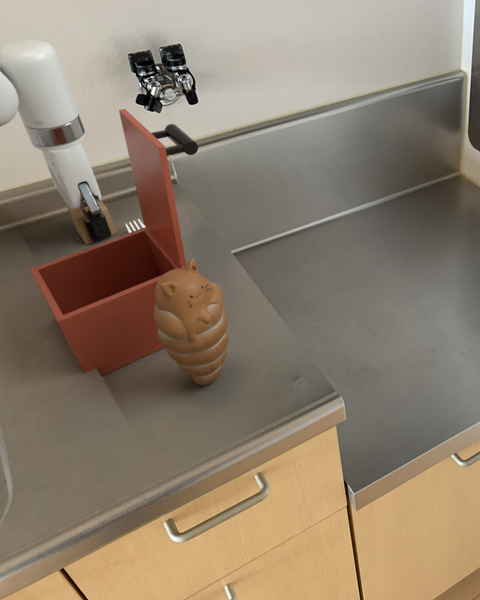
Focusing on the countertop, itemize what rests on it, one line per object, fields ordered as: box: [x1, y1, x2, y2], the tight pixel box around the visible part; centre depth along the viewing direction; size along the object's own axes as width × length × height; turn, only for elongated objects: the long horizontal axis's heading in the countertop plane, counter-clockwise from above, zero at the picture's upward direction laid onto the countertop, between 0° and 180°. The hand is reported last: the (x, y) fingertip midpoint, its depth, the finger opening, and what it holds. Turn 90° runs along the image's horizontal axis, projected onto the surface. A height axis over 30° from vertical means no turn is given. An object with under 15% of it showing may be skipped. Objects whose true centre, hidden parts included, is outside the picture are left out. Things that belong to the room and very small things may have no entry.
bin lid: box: [118, 108, 199, 268], centre depth 78 cm, size 16×13×6 cm
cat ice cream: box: [154, 257, 230, 386], centre depth 73 cm, size 9×8×18 cm
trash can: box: [29, 226, 184, 377], centre depth 82 cm, size 16×13×11 cm
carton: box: [66, 199, 117, 245], centre depth 102 cm, size 5×5×5 cm
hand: (95, 229), depth 103 cm, fingers closed on carton, 5 cm apart
